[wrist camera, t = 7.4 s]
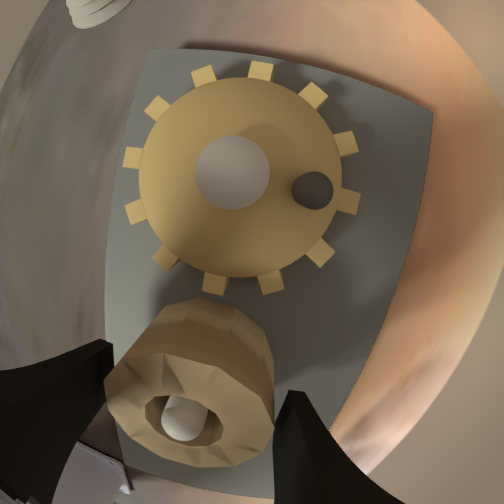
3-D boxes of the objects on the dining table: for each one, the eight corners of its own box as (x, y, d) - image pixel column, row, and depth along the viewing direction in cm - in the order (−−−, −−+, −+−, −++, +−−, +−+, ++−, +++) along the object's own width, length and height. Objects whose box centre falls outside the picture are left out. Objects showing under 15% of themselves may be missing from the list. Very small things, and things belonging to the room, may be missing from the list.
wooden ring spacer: (145, 384, 12) (114, 439, 8) (150, 284, 11) (98, 329, 7) (255, 412, 12) (249, 477, 8) (286, 317, 11) (294, 382, 7)
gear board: (131, 452, 16) (105, 506, 10) (162, 62, 10) (95, -5, 4) (277, 485, 16) (276, 545, 10) (417, 119, 10) (505, 85, 4)
